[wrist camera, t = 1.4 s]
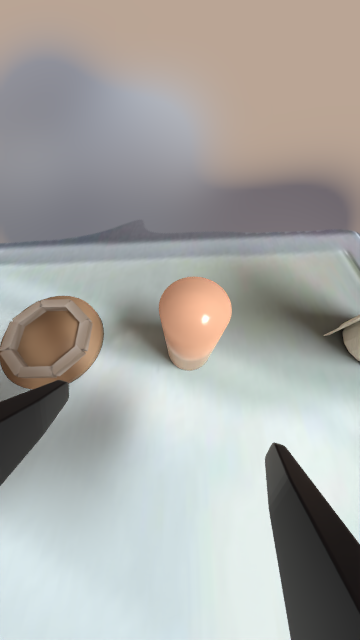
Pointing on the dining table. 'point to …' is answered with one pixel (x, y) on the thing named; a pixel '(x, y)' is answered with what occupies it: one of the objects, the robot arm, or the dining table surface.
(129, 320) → the dining table surface
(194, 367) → the peach rounded knob
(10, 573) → the dining table surface
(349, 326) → the paper towel roll
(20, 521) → the dining table surface
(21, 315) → the flange seat
